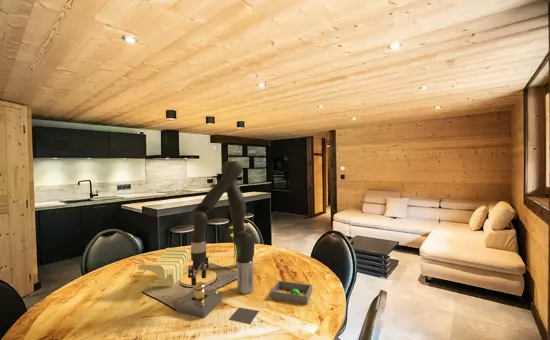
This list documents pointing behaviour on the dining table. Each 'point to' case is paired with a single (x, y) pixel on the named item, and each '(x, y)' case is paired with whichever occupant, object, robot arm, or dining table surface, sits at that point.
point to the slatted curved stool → (168, 267)
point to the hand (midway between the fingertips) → (198, 281)
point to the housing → (198, 304)
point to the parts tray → (290, 296)
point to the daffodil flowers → (236, 246)
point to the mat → (244, 315)
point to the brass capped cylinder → (199, 291)
